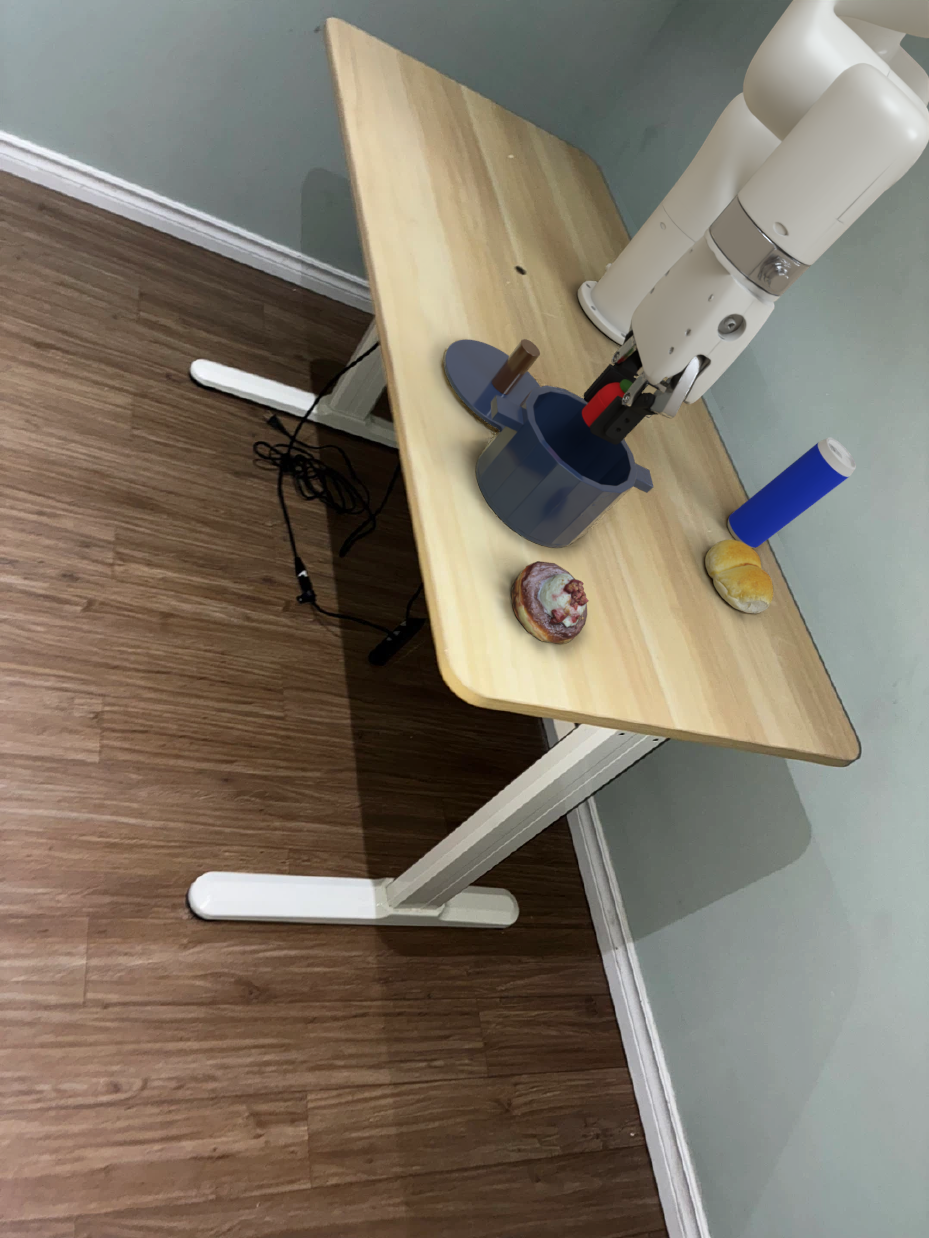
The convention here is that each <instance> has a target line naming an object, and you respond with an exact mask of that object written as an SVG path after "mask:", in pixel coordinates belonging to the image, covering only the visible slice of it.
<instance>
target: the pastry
mask: <svg viewBox="0 0 929 1238" xmlns="http://www.w3.org/2000/svg"><path fill="white" fill-rule="evenodd" d="M511 600H512V609H513V612H514V614H515V616H516V618H517V620H518V621H519V622H520V624H521V625H522V626H523V627H524V629H525V631H526V632H527V633H528V634H530V635H531V636H533V637H535V638H537V639H538V640H539V641H540V642H545V643H553V644H560V645H564V644H568V643H570V642H571V641H572V640H573V639H574V638H576V637H577V636H578V635H579V634H580V633H581V631H582V630H583V629H584V627H585V625H586V622H587V618H588V603H589V601H590V600H589V599H588V598H587V594H586V592H585V588H584V582H583V581H582V580H580V579H576V578H575V577H574V576H573V575H572V574H571V573H570V572H569V571H568V570H566V569H565V568H563V567H561V566H560V565H559V564H556V563H555V562H548V561H539V560H538V561H535V562H533V563H530V564H528V565H526V566H525V567H524V569H523V570H522V571H521V572H520V573H519V574H518V575H517V576H516V578H515V580H514V582H513V584H512V589H511Z"/></svg>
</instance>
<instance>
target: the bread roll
mask: <svg viewBox="0 0 929 1238" xmlns="http://www.w3.org/2000/svg"><path fill="white" fill-rule="evenodd" d="M704 564H705V568H706V571H707V573H708V575H709V576H708V577H710V578H711V579H712V580H713V586H714V588H715V590H716V591H717V593H718V594H719V595H720V597H721V598H722V599H723V600H724V601H725V602H726V603H728V604H729V605H730V606H731V607H732V608H734V609H736V610H738V611H741V612H744V613H747V614H759V613H762V612H765V611H766V610H767V609H769V606H770V605H771V603H772V601H773V598H774V585H773V581H772V580H773V579H772V578H771V576H770V575H769V574H768V572H767V571H765V570H764V569H762V562H761V558H760V555H759V554H758V553H757V552H756V551H755V550H754V548H751V547H750V546H748V545H746V544H745V543H743V542H740V541H737V540H736V539H729V538H728V539H724V540H723V539H722V540H720V541H718V542H717V543H715V544H713V545H712V547H711V548H710V549H709V550H708V551H707V553H706V554H705V559H704Z"/></svg>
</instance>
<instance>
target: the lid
mask: <svg viewBox="0 0 929 1238" xmlns="http://www.w3.org/2000/svg"><path fill="white" fill-rule="evenodd" d="M540 356H541V351H540V348H539V347H538V346H537V345H536V344H535V343H534V342H533V341H531V340H530V339H526V338H523V339H521V340H520V341H519V343H518V344H517V345H516V346H515V348H514V349H513V350H512V352H511V353H510V355H509V354H508V353H506V352H504V351H502V350H501V349H499V348H498V347H495V346H493V345H491V344H488V343H486V342H483V341H481V340H476V339H467V338H466V339H458V340H456V341H454V342H452V343H451V344H450V345H449V346H448V347H447V349H446V350H445V352H444V355H443V369H444V373H445V375H446V378H447V380H448V382H449V384H450V386H451V388H452V390H453V391H454V392H455V394H456V395H457V396H458V397H459V399H460V400H461V401H462V402H463V404H464V405H466V407H467V408H469V409H470V411H472V413H474V414H475V415H476V416H477V417H478V418H480V419H481V420H482V421H483V422H485V423H487V424H488V425H489V426H491V427H493V428H494V429H497V430H498V431H499V430H500V428H501V427H502V426H503V425H502V424H500V423H498V422H496V421H494V420H492V414H491V401H492V400H493V398H494V397H495V396H496V395H498V396H500V397H502V398H504V399H506V400H508V401H510V402H513V403H515V404H517V405H520V404H521V402H522V401H523V400H524V399H525V398H526V396H527V395H528V394H529V393H530V391H531V390H532V389H535V388H538V387H541V385H540V383H539V382H538V381H537V380H536V378H535V377H534V376H533V375H532V374H531V373H530V372H529V370H530V369H531V367H532V366H533V364H534V363H535V362H536V361H537V360H538V358H540Z"/></svg>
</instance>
